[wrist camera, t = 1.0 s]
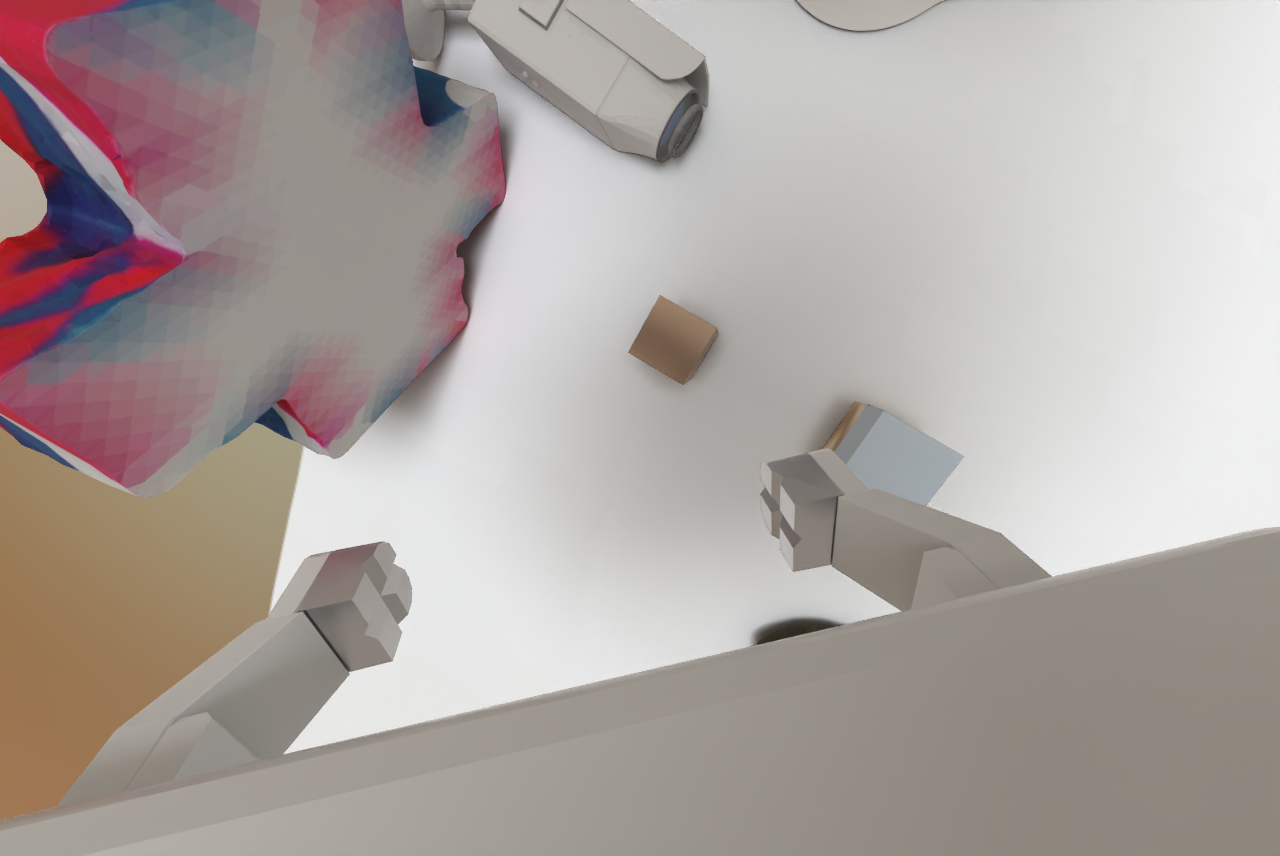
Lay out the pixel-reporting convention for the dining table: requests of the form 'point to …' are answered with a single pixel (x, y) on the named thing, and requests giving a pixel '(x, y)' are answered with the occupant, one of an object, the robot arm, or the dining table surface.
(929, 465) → the slate block
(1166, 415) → the dining table surface
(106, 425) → the sculpture
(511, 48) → the security camera
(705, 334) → the walnut pillar
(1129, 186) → the dining table surface
